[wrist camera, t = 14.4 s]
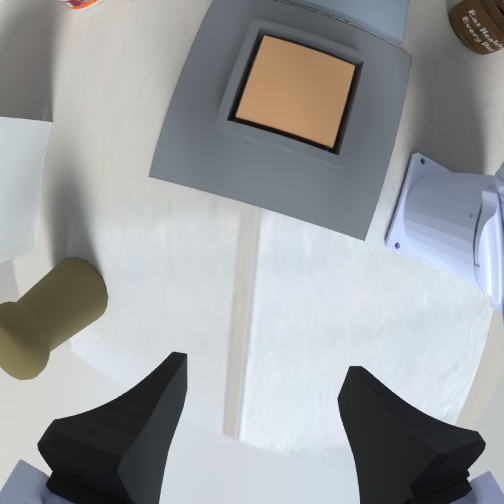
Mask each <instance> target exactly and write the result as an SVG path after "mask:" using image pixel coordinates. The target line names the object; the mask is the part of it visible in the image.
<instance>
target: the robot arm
mask: <svg viewBox="0 0 504 504" xmlns="http://www.w3.org/2000/svg"><path fill="white" fill-rule="evenodd" d="M421 159H423V164H421ZM397 242H398V246H397V247H396V248H395V244H396V243H397ZM385 246H386V247H387V248H388V249H390V250H392V251H395V252H397V253H400V254H403V255H406V256H408V257H411V258H414V259H416V260H419V261H422V262H424V263H427V264H429V265H432V266H434V267H437V268H440V269H442V270H445V271H447V272H450V273H452V274H454V275H456V276H458V277H459V278H461V279H463V280H465V281H466V282H468V283H470V284H471V285H473V286H474V287H476V288H478V289H479V290H481V291H483V292H484V293H486V294H487V295H488V296H489V297H490V299H491V307H492V308H494V309H495V310H497V311H498V312H499V313H501V314H502V315H503V324H502V326H503V333H504V162H503V163H502V165H501V167H500V168H499V170H498V171H497V172H496V173H495V176H493V175H482V174H469V173H453V172H451V171H450V170H448V169H446V168H445V167H443V166H441V165H440V164H438V163H436V162H435V161H433V160H431V159H429V158H428V157H426V156H424V155H422V154H420V153H418V152H417V153H413V154H412V156H411V160H410V164H409V167H408V171H407V175H406V178H405V182H404V185H403V189H402V192H401V196H400V199H399V202H398V205H397V208H396V212H395V215H394V218H393V221H392V224H391V227H390V230H389V232H388V235H387V238H386V241H385ZM186 392H187V354H185V353H179V352H172V353H171V354H170V355H169V356H168V357H167V358H166V359H165V360H164V361H163V362H162V363H161V364H160V365H159V366H158V367H157V368H156V369H155V370H154V371H153V372H151V373H150V374H149V375H148V376H147V377H146V378H145V379H143V380H142V381H141V382H139V383H138V384H137V385H136V386H134V387H133V388H132V389H130V390H129V391H127V392H126V393H124V394H122V395H121V396H119V397H118V398H116V399H114V400H112V401H110V402H108V403H106V404H104V405H102V406H100V407H97V408H95V409H93V410H90V411H87V412H84V413H81V414H77V415H74V416H70V417H65V418H61V419H55V420H54V421H53V422H52V423H51V424H50V426H49V427H48V428H47V430H46V431H45V433H44V434H43V436H42V438H41V439H40V441H39V442H38V444H37V445H38V450H39V451H40V454H41V455H42V457H43V458H44V460H45V461H46V463H47V464H48V465H49V467H50V468H51V470H52V471H53V472H52V474H51V476H50V477H49V476H48V475H46V474H45V473H44V472H42V471H40V470H38V469H37V468H35V467H33V466H31V465H30V464H28V463H26V462H25V461H23V460H19V462H18V463H17V465H16V466H15V468H14V470H13V471H12V473H11V475H10V476H9V478H8V480H7V481H6V483H5V485H4V487H3V488H2V490H1V491H0V504H159V499H160V493H161V486H162V481H163V475H164V470H165V465H166V460H167V455H168V451H169V448H170V444H171V441H172V438H173V436H174V433H175V430H176V427H177V424H178V421H179V418H180V416H181V413H182V410H183V407H184V402H185V397H186ZM337 399H338V405H339V411H340V416H341V419H342V422H343V426H344V429H345V432H346V435H347V437H348V440H349V443H350V446H351V449H352V452H353V456H354V460H355V465H356V471H357V477H358V485H359V494H360V504H504V494H503V492H502V491H501V489H500V487H499V485H498V484H497V482H496V480H495V479H494V477H493V476H492V474H491V472H490V471H487V472H485V473H484V474H482V475H480V476H478V477H476V478H474V479H473V480H471V481H470V482H468V480H467V477H469V475H470V474H469V472H468V469H469V468H470V466H471V465H472V464H473V463H474V462H475V461H476V460H477V459H478V457H479V456H480V455H481V454H482V452H483V451H484V449H485V445H486V443H485V441H484V440H483V439H482V437H481V435H480V434H479V433H478V432H477V431H472V430H468V429H463V428H459V427H456V426H453V425H450V424H447V423H445V422H442V421H440V420H437V419H435V418H433V417H431V416H429V415H427V414H425V413H423V412H421V411H420V410H418V409H416V408H415V407H413V406H411V405H410V404H408V403H407V402H406V401H404V400H403V399H401V398H400V397H399V396H397V395H396V394H395V393H393V392H392V391H391V390H390V389H388V388H387V387H386V386H385V385H384V384H383V383H381V382H380V381H379V380H378V379H377V378H376V377H374V376H373V375H372V374H371V373H370V372H368V371H367V370H366V369H365V368H363V367H362V366H350V367H349V370H348V372H347V375H346V378H345V380H344V383H343V386H342V388H341V391H340V393H339V396H338V398H337Z"/></svg>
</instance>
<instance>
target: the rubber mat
mask: <svg viewBox="0 0 504 504" xmlns="http://www.w3.org/2000/svg"><path fill="white" fill-rule="evenodd" d="M287 1H291V2H294V3H298V4H301V5H305V6H308V7H311V8H314V9H317V10H320V11H323V12H326V13H329V14H332V15H334V16H337V17H340V18H342V19H345V20H347V21H350V22H352V23H355V24H357V25H359V26H362V27H364V28H366V29H368V30H371V31H373V32H375V33H377V34H379V35H381V36H383V37H385V38H387V39H389V40H391V41H393V42H395V43H397V44H400V43H402V42H403V39H404V32H405V24H406V16H407V7H408V0H287Z"/></svg>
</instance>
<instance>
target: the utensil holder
mask: <svg viewBox="0 0 504 504" xmlns="http://www.w3.org/2000/svg"><path fill="white" fill-rule="evenodd" d="M449 17H450V22H451V25H452V27H453V29H454V31H455V33H456V34H457V36H458V37H459V38H460V40H461V41H462V42H463V43H464V44H465V45H466V46H467V47H468V48H469V49H471V50H472V51H474V52H476V53H478V54H482V55H483V54H489V53H492V52H495V51H498V50H501V49H503V48H504V0H463V1H461V2H460V3H458V4H457V5H456V6H454V7H453V8H452V9H451V11H450V15H449Z"/></svg>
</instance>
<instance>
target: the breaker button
mask: <svg viewBox="0 0 504 504" xmlns="http://www.w3.org/2000/svg"><path fill="white" fill-rule="evenodd" d="M354 69H355V66H354V65H352V64H349V63H347V62H344V61H342V60H339V59H337V58H334V57H332V56H329V55H326V54H324V53H321V52H318V51H315V50H312V49H309V48H306V47H303V46H300V45H297V44H294V43H290V42H287V41H283V40H280V39H276V38H272V37H269V36H265V35H264V38H263V40H262V43H261V46H260V48H259V51H258V54H257V56H256V59H255V62H254V65H253V67H252V70H251V73H250V76H249V79H248V81H247V84H246V87H245V90H244V93H243V96H242V99H241V102H240V105H239V108H238V111H237V114H236V120H237V123H240V124H243V125H247V126H251V127H254V128H258V129H261V130H264V131H268V132H271V133H274V134H278V135H281V136H284V137H287V138H290V139H293V140H296V141H299V142H302V143H305V144H308V145H311V146H314V147H316V148H319V149H322V150H328V149H331V148H333V145H334V142H335V138H336V135H337V131H338V128H339V124H340V121H341V117H342V114H343V110H344V106H345V103H346V99H347V95H348V92H349V88H350V84H351V80H352V76H353V72H354Z"/></svg>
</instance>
